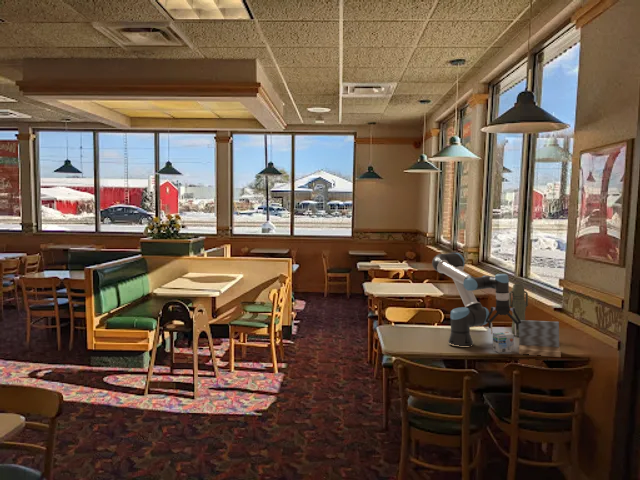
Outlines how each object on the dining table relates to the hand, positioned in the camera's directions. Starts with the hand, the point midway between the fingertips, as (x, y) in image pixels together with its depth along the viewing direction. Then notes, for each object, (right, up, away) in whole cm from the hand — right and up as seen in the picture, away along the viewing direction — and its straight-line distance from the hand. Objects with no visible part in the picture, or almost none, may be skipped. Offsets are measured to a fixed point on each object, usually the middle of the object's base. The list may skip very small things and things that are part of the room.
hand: (503, 334), depth 291 cm
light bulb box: (0, -11, +1) cm, 11 cm away
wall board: (+19, -10, -6) cm, 22 cm away
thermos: (+23, -8, +33) cm, 42 cm away
